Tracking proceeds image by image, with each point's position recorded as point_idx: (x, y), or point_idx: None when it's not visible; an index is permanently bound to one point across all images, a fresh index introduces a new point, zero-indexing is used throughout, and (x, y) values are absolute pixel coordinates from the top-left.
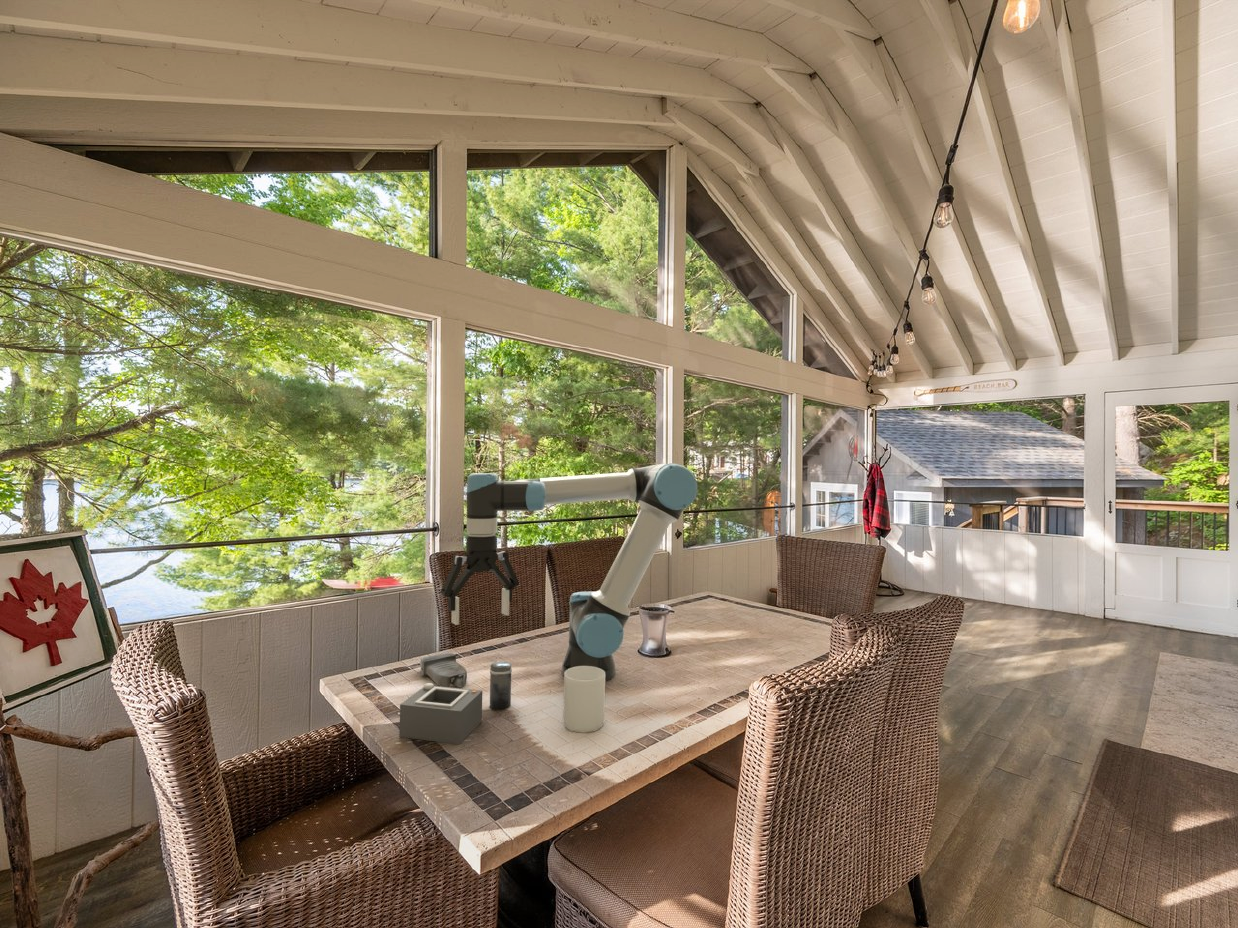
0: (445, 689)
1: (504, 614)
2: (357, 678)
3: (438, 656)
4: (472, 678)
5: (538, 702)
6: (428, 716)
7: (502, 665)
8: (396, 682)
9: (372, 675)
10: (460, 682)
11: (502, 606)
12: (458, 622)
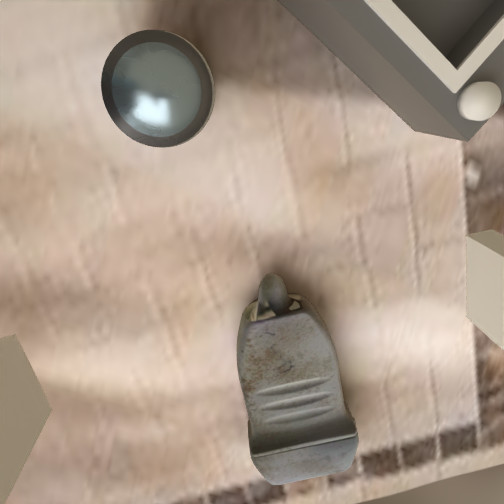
0: (427, 40)
1: (30, 366)
2: (495, 439)
3: (305, 457)
4: (214, 342)
5: (33, 56)
6: None
7: (153, 70)
8: (418, 385)
9: (458, 446)
10: (274, 281)
11: (18, 447)
12: (480, 239)
